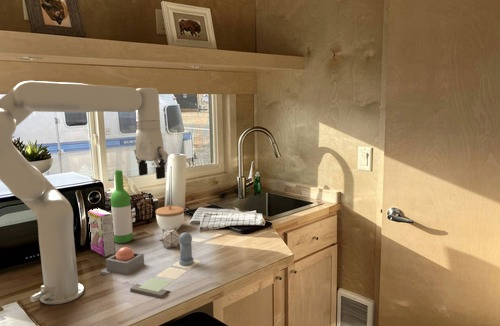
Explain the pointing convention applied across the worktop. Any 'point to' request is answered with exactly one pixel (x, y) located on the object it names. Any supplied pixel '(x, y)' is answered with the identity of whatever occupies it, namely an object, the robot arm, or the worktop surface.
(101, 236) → the candy bar box
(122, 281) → the worktop surface
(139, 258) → the button housing
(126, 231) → the wine bottle
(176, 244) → the game die
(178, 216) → the lidded bowl
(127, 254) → the dome button
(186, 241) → the pawn
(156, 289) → the track board
